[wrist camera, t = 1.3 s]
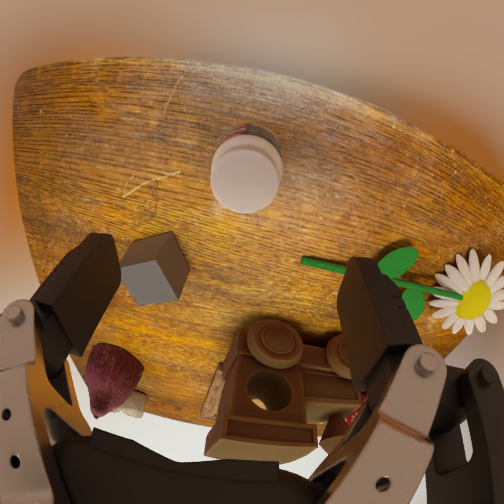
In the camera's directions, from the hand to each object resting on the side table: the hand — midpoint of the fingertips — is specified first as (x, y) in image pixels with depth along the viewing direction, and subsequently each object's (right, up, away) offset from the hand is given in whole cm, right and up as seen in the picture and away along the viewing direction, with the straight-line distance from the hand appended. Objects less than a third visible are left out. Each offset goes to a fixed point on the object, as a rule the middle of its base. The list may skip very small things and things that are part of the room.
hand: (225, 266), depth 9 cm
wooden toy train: (+7, -13, +28) cm, 32 cm away
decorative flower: (+20, -2, +20) cm, 29 cm away
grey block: (-9, 0, +20) cm, 22 cm away
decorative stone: (-28, -31, +43) cm, 60 cm away
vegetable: (-24, -19, +35) cm, 46 cm away
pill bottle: (+1, +9, +14) cm, 16 cm away
